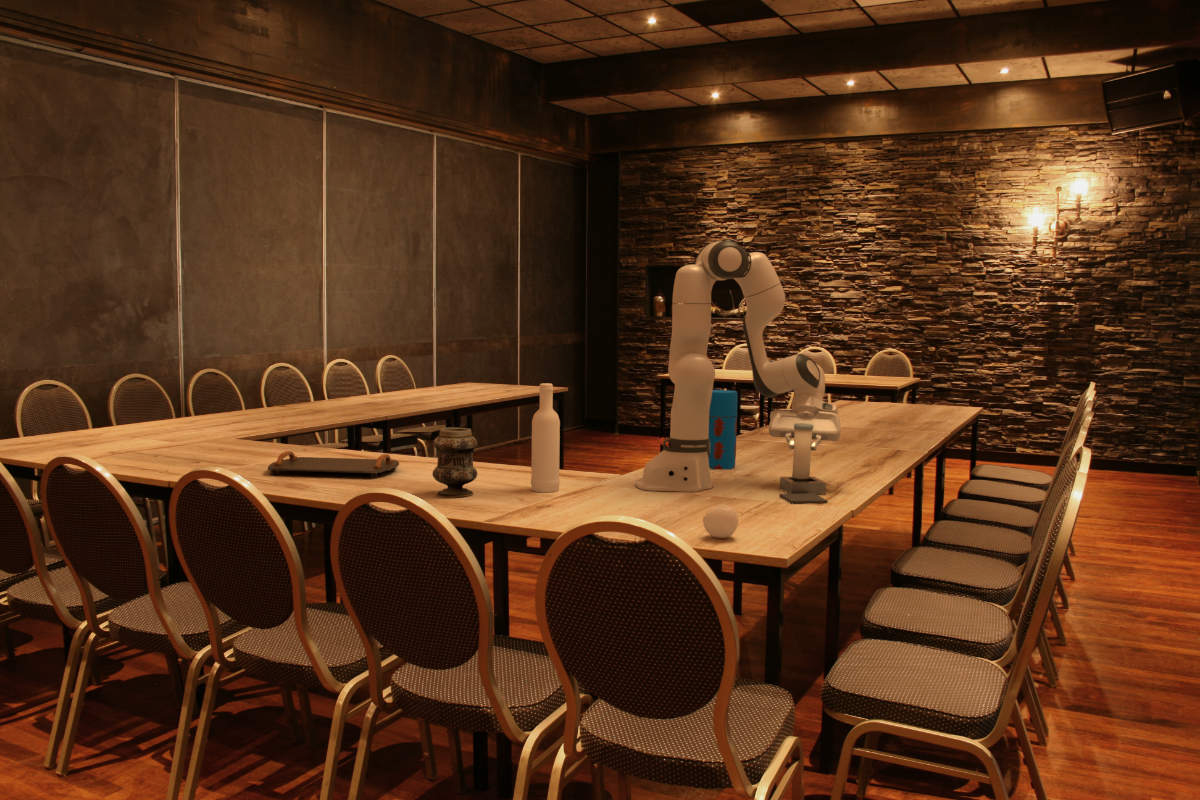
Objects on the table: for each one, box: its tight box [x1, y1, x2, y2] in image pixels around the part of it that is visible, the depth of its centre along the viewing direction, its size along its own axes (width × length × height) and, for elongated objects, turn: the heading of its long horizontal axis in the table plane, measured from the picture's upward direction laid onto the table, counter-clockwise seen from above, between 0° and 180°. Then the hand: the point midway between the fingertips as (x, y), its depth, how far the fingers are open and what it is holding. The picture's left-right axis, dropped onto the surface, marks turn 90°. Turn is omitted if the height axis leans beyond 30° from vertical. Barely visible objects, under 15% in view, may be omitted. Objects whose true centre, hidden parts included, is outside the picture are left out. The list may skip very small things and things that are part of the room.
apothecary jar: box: [432, 427, 478, 498], centre depth 264 cm, size 12×12×18 cm
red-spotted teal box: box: [708, 389, 738, 470], centre depth 318 cm, size 11×11×25 cm
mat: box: [779, 493, 828, 505], centre depth 265 cm, size 10×10×1 cm
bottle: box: [530, 382, 561, 494], centre depth 272 cm, size 8×8×30 cm
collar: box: [779, 476, 827, 496], centre depth 277 cm, size 10×10×4 cm
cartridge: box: [791, 423, 814, 479], centre depth 276 cm, size 5×5×15 cm
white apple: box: [702, 504, 739, 539], centre depth 219 cm, size 8×8×8 cm
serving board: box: [267, 450, 400, 480], centre depth 299 cm, size 39×23×6 cm, turn 85°
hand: (802, 448), depth 276 cm, fingers closed on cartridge, 5 cm apart
